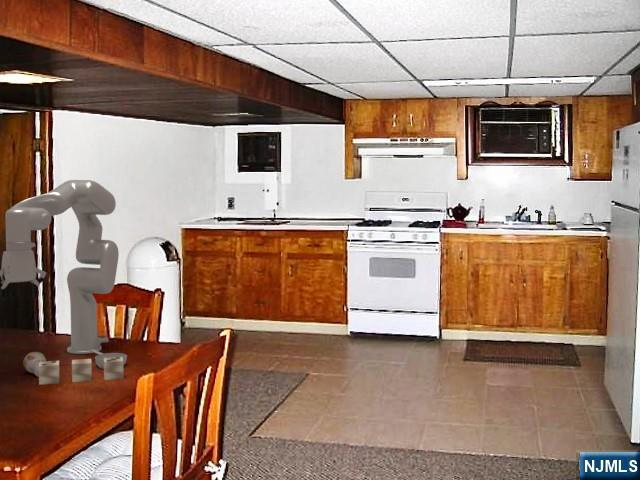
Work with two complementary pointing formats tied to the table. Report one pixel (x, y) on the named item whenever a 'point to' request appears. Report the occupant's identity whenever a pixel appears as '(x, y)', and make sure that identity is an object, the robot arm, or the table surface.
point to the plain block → (81, 370)
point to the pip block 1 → (49, 372)
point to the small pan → (100, 358)
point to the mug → (33, 362)
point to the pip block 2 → (113, 368)
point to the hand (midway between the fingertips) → (19, 299)
